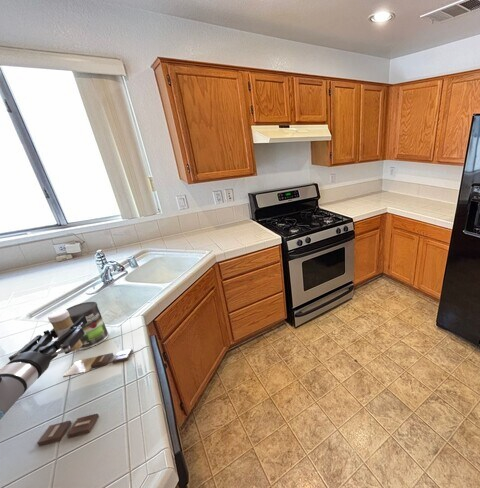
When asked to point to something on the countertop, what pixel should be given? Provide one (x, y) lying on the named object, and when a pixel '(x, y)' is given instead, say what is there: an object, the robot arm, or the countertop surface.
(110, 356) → the chocolate bar
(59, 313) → the sprinkles bottle
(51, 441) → the brown chocolate squares
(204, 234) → the countertop surface
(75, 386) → the countertop surface
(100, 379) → the countertop surface
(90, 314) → the coffee can
